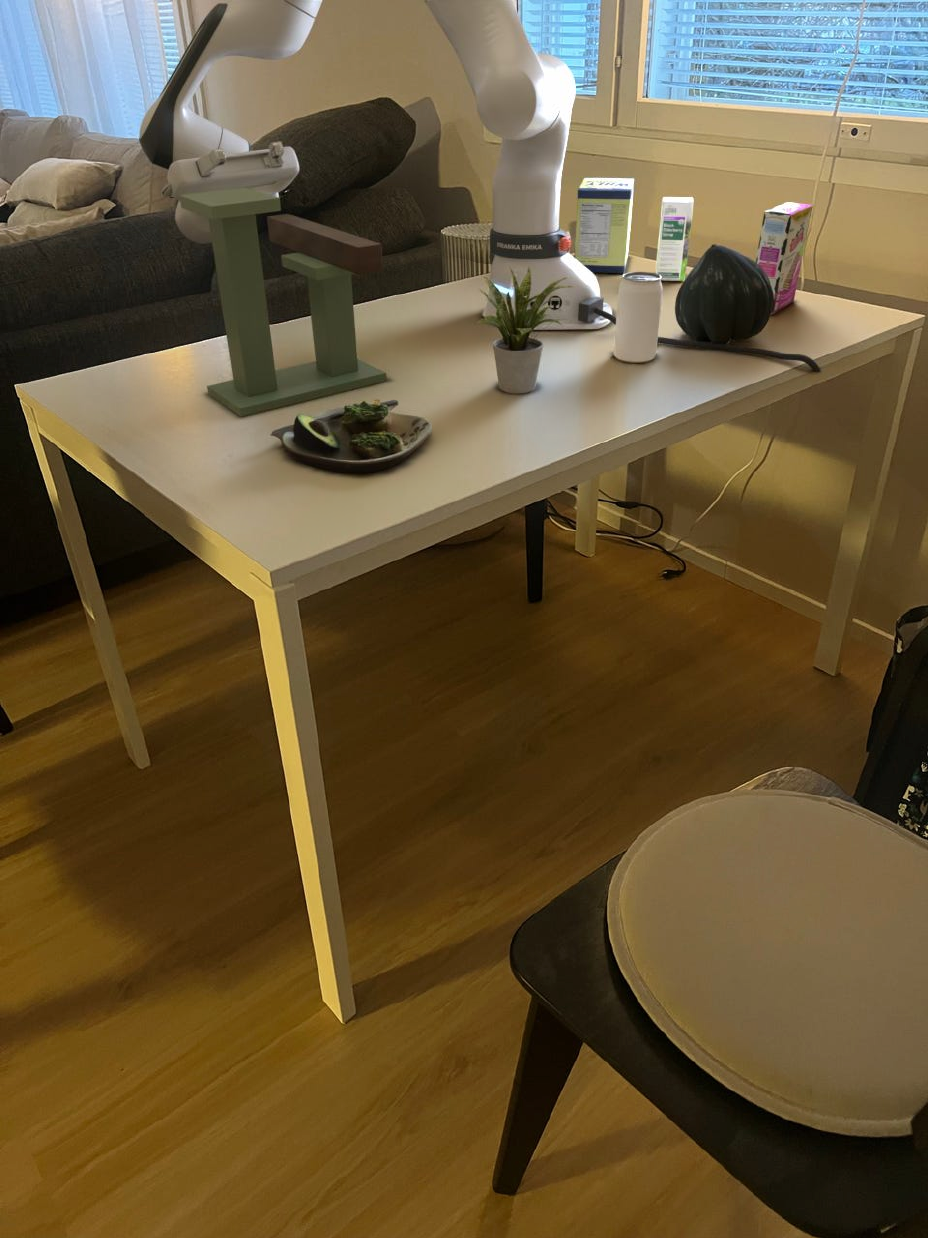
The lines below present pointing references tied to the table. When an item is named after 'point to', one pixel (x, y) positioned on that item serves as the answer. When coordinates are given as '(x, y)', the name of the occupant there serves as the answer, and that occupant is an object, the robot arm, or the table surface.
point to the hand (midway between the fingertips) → (249, 150)
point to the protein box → (604, 223)
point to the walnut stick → (326, 244)
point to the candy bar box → (783, 249)
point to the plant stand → (249, 315)
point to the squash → (724, 298)
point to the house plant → (518, 334)
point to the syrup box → (674, 238)
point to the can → (638, 317)
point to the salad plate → (354, 437)
